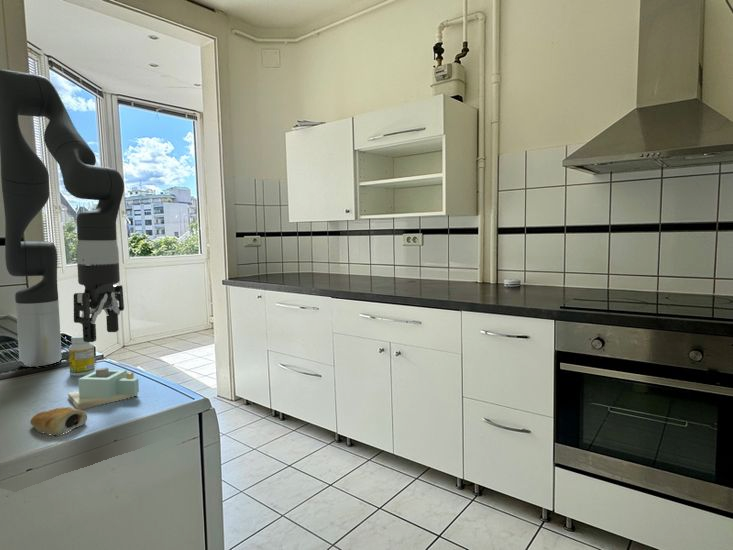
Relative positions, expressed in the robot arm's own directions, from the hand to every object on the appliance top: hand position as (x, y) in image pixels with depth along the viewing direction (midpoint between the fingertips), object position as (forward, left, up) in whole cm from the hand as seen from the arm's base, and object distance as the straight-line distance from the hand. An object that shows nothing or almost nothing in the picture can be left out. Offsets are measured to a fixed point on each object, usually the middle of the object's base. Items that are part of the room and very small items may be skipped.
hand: (101, 336), depth 93 cm
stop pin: (+3, +4, -12) cm, 13 cm away
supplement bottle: (-22, +1, -14) cm, 26 cm away
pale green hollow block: (+2, +1, -12) cm, 12 cm away
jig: (0, 0, -13) cm, 13 cm away
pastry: (+11, -10, -14) cm, 21 cm away
